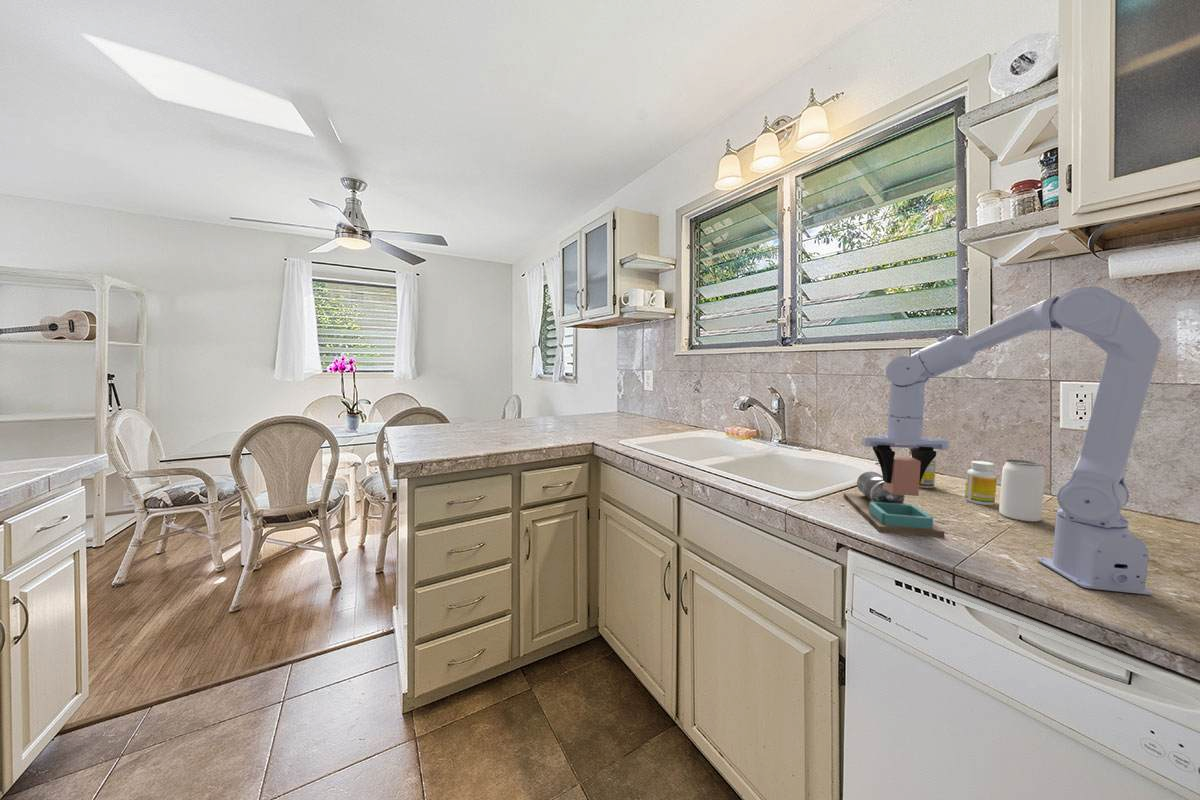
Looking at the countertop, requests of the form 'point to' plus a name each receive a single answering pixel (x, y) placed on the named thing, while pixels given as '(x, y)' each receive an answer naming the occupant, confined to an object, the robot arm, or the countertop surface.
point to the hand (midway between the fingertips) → (901, 482)
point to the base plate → (862, 506)
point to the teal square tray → (915, 520)
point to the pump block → (904, 476)
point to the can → (1022, 490)
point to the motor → (876, 489)
